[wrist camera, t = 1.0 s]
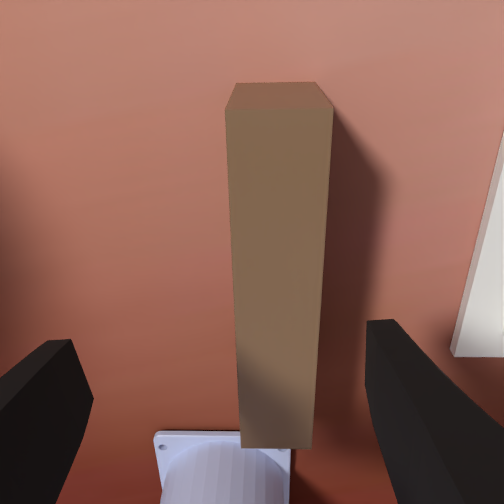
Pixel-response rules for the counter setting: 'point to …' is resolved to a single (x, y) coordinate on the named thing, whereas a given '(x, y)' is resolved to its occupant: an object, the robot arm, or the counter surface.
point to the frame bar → (277, 254)
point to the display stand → (485, 280)
